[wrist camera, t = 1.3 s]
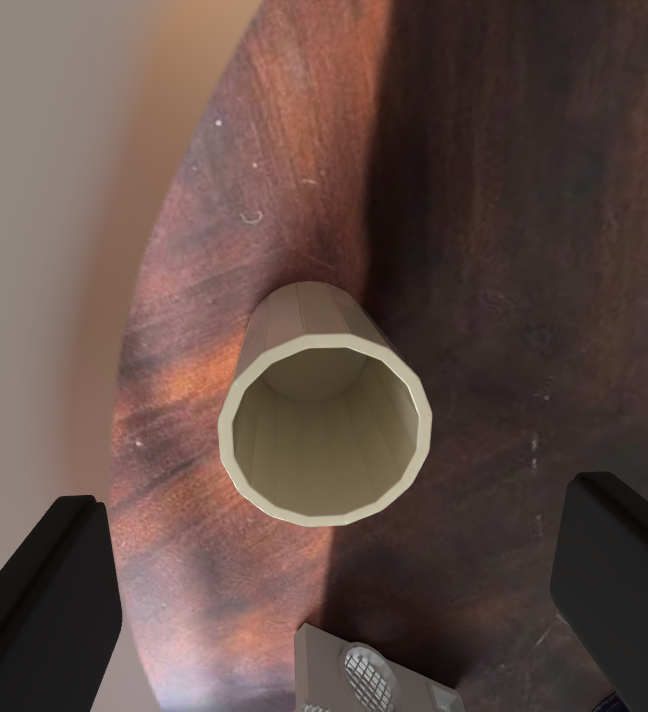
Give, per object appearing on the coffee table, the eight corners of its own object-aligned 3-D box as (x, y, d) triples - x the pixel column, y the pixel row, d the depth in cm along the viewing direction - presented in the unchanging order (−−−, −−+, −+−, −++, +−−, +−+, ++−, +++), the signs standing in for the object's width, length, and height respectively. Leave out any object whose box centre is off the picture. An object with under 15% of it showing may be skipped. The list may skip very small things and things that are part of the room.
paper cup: (240, 281, 20) (210, 336, 12) (375, 280, 21) (439, 331, 12) (246, 407, 22) (225, 531, 14) (371, 403, 23) (424, 521, 14)
